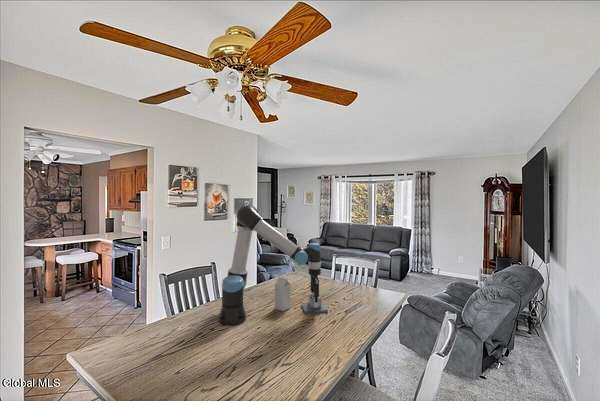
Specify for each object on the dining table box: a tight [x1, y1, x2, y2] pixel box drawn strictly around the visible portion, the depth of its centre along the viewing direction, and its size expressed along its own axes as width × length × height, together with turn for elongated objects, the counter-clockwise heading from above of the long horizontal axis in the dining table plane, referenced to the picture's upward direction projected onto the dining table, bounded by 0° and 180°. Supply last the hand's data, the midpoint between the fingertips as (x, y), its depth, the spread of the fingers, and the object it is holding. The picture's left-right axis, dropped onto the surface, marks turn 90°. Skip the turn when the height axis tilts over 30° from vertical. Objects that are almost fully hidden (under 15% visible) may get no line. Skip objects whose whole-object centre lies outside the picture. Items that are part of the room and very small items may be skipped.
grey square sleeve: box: [307, 294, 322, 309], centre depth 179 cm, size 7×7×6 cm
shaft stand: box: [300, 295, 329, 315], centre depth 179 cm, size 14×14×8 cm
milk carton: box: [274, 276, 292, 312], centre depth 179 cm, size 7×7×19 cm
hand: (314, 304), depth 179 cm, fingers closed on grey square sleeve, 7 cm apart
